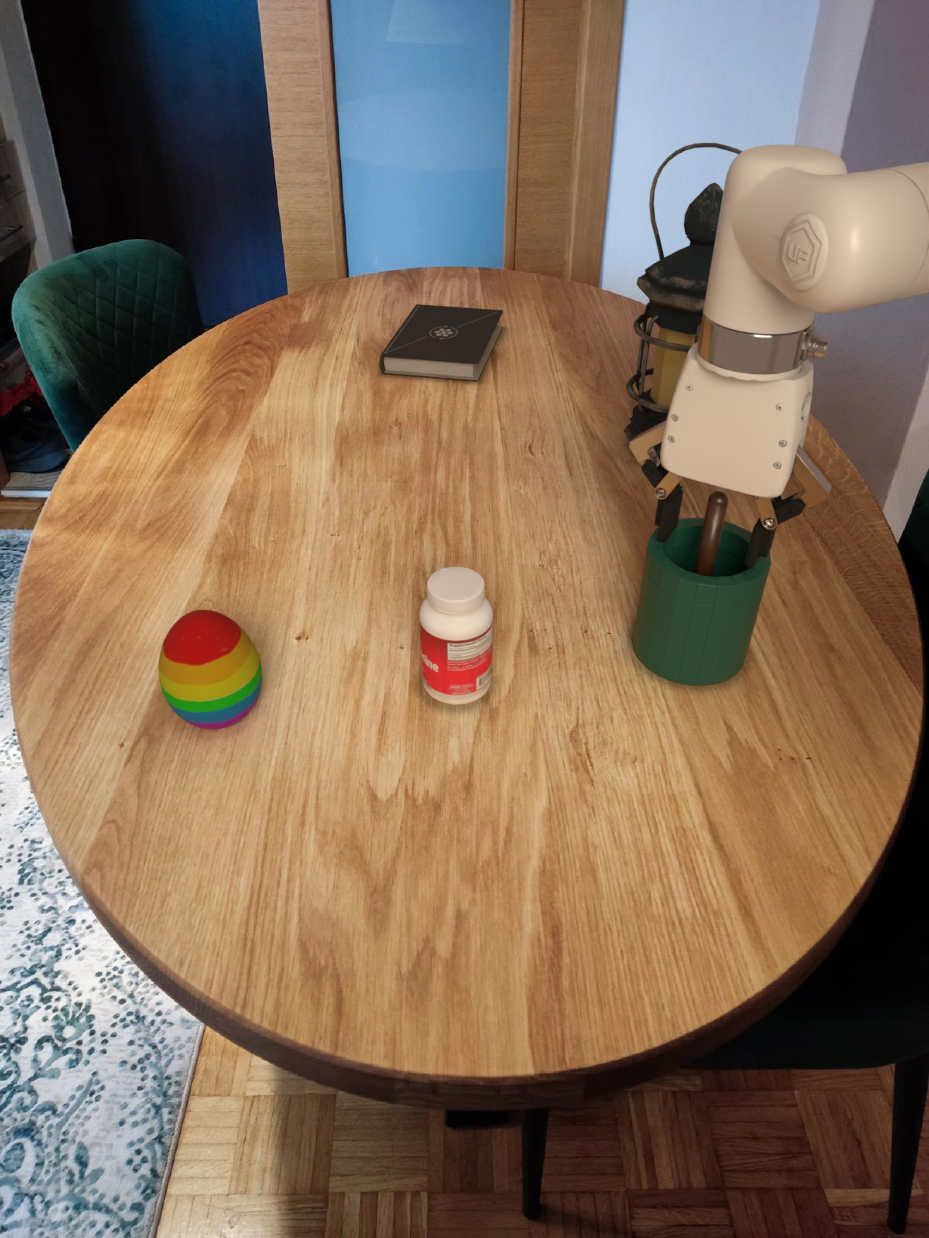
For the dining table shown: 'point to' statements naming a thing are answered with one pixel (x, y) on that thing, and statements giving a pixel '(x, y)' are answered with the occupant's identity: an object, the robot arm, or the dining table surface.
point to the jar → (697, 606)
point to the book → (442, 343)
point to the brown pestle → (711, 533)
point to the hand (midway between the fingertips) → (709, 545)
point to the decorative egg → (209, 670)
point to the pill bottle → (456, 636)
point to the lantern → (673, 303)
